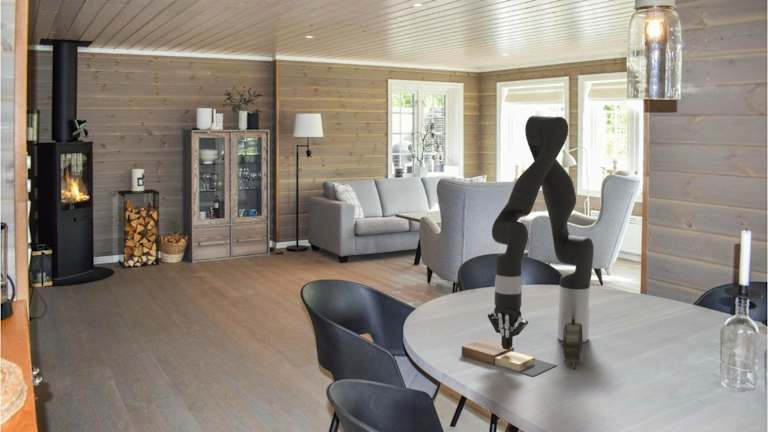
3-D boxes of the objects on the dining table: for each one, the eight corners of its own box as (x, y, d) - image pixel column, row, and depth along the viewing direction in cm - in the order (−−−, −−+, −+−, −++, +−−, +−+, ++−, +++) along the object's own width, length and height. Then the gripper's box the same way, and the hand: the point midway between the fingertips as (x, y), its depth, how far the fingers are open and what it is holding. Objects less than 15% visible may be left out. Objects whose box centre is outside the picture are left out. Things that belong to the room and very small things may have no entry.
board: (482, 348, 214) (482, 338, 214) (513, 357, 206) (513, 347, 206) (461, 355, 207) (461, 346, 207) (493, 365, 199) (493, 355, 199)
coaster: (510, 357, 205) (510, 351, 204) (534, 364, 199) (534, 357, 199) (494, 364, 199) (495, 357, 199) (518, 371, 194) (519, 364, 193)
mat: (518, 355, 208) (518, 354, 208) (557, 366, 199) (557, 365, 199) (494, 365, 199) (494, 364, 199) (533, 376, 190) (533, 375, 190)
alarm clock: (579, 371, 194) (582, 314, 192) (559, 369, 196) (561, 312, 194) (582, 359, 204) (585, 305, 202) (563, 357, 206) (565, 303, 204)
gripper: (535, 291, 197) (533, 351, 199) (497, 284, 206) (495, 340, 209) (520, 296, 192) (518, 357, 194) (481, 288, 201) (480, 346, 203)
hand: (506, 348), depth 201 cm, fingers closed
